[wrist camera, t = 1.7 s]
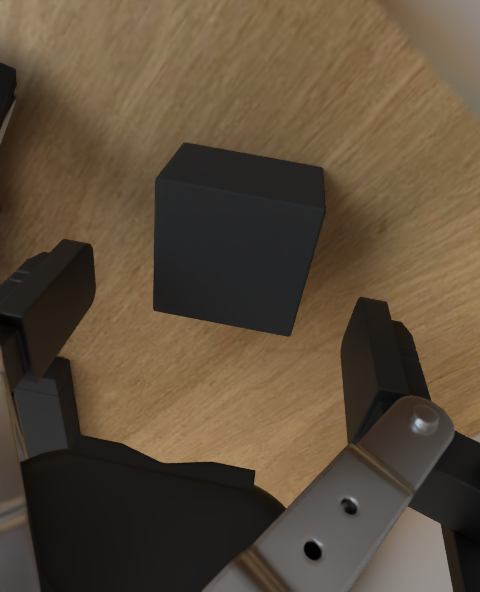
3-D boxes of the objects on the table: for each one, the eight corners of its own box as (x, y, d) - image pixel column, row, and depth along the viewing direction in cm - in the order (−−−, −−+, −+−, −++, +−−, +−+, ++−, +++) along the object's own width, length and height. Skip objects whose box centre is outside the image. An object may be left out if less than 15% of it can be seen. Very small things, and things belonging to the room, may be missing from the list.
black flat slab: (-166, 313, 23) (-192, 331, 22) (69, 359, 23) (55, 380, 21) (-20, 567, 43) (-29, 584, 42) (104, 593, 43) (99, 611, 42)
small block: (183, 141, 15) (154, 177, 12) (323, 167, 15) (326, 209, 12) (176, 260, 18) (152, 311, 15) (293, 282, 18) (290, 338, 15)
